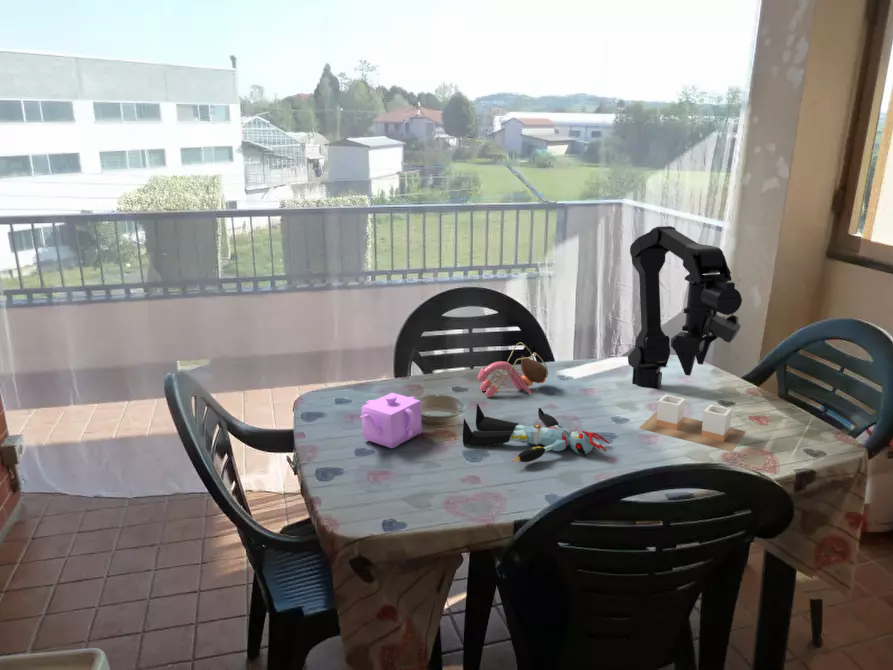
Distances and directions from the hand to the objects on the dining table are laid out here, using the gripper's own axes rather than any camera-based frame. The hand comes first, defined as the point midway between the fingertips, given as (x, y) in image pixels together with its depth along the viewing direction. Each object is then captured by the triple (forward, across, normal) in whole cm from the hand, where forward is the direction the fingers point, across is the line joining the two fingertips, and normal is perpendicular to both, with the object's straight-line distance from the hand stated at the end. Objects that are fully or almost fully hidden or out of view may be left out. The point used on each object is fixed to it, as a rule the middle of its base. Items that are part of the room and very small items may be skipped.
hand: (694, 369), depth 153 cm
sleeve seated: (+11, -8, +2) cm, 14 cm away
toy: (+13, -32, +23) cm, 42 cm away
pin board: (+12, -8, -3) cm, 15 cm away
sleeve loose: (+11, -8, -8) cm, 16 cm away
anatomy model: (+13, -8, +44) cm, 46 cm away
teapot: (+13, -49, +51) cm, 72 cm away
